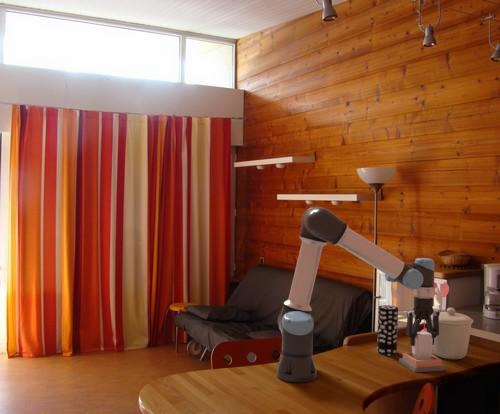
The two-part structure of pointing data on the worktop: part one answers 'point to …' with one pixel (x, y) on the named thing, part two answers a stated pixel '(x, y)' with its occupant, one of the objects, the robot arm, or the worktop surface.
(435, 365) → the pink square tray
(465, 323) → the canister
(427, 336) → the skincare box
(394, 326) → the white-spotted black cylinder
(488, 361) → the worktop surface
